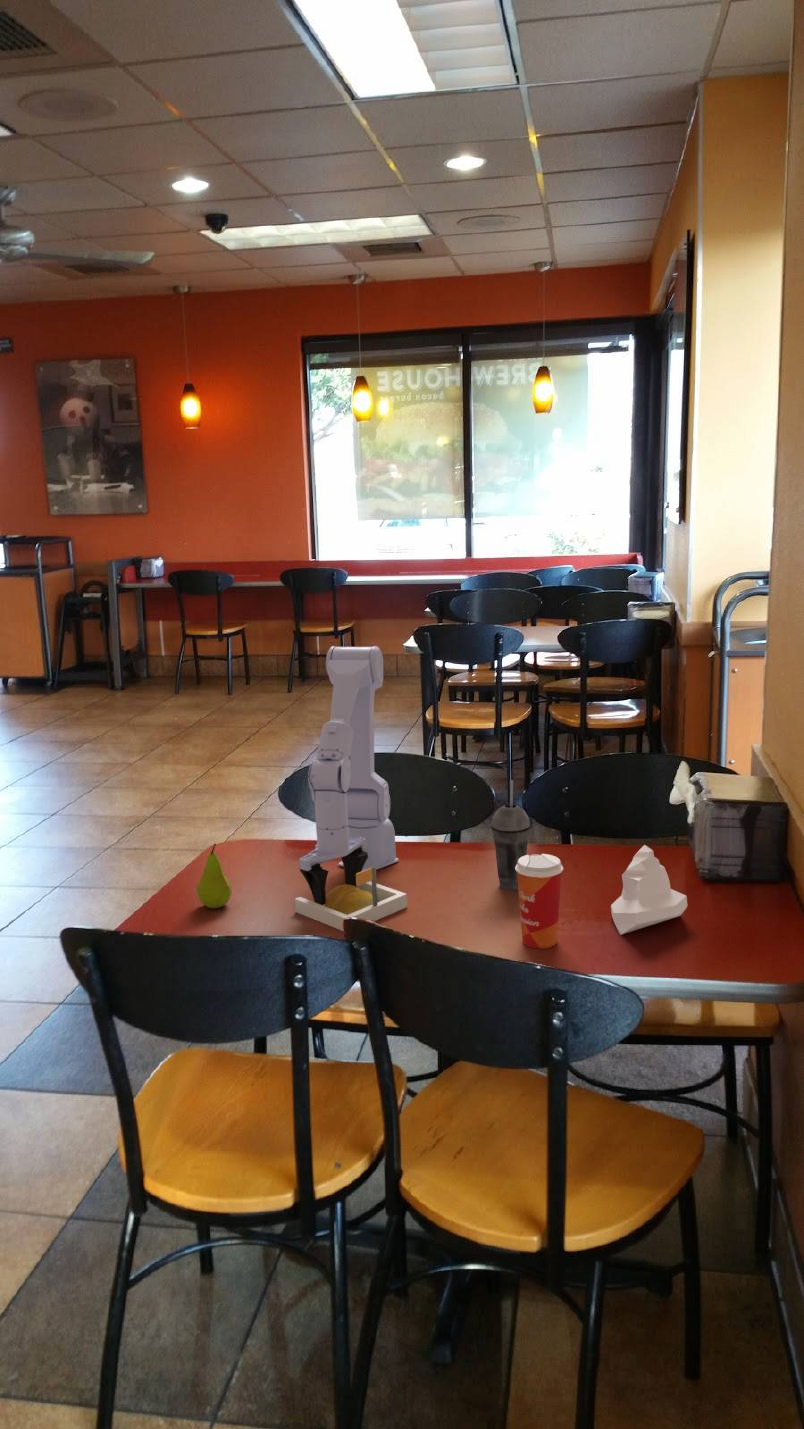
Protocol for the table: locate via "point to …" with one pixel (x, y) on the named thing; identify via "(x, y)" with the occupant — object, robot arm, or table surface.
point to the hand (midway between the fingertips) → (336, 896)
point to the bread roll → (348, 899)
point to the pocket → (387, 905)
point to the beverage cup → (510, 841)
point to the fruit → (213, 884)
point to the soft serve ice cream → (646, 895)
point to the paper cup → (539, 899)
